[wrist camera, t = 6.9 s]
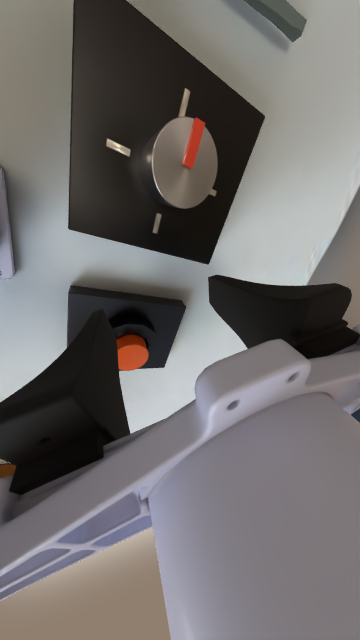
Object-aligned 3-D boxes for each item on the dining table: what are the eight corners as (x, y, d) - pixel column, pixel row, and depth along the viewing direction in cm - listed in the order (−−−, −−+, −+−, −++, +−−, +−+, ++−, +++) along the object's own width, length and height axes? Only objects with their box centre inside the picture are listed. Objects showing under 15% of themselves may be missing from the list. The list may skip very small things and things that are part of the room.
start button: (109, 359, 20) (110, 371, 19) (114, 333, 19) (115, 344, 17) (141, 359, 22) (144, 370, 21) (148, 334, 20) (152, 345, 19)
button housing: (67, 361, 22) (63, 385, 20) (70, 285, 18) (65, 302, 15) (161, 359, 28) (168, 377, 25) (181, 300, 23) (192, 314, 20)
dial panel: (72, 223, 15) (67, 229, 13) (79, 8, 10) (74, -49, 8) (196, 256, 21) (209, 265, 18) (241, 126, 16) (267, 115, 13)
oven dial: (184, 212, 15) (205, 218, 12) (134, 193, 13) (145, 194, 10) (202, 150, 13) (231, 139, 10) (147, 117, 11) (164, 93, 8)
